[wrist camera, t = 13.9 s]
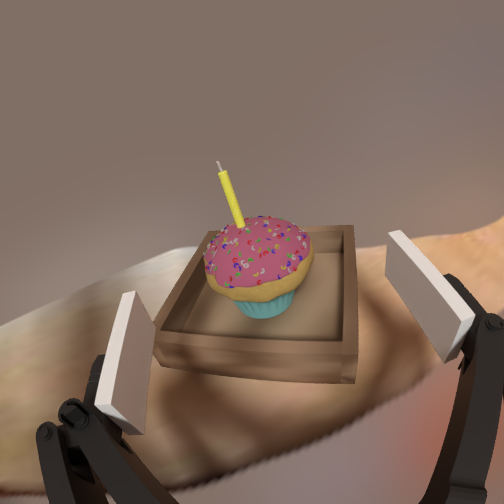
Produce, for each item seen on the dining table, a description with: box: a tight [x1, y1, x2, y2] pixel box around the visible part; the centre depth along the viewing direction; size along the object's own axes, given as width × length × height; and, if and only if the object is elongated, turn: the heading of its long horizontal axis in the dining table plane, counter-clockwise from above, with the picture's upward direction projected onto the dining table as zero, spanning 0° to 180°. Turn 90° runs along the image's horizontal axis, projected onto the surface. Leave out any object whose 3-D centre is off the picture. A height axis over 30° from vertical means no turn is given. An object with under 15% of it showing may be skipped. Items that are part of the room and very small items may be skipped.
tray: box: [152, 225, 358, 384], centre depth 26 cm, size 15×15×4 cm
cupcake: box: [203, 161, 314, 319], centre depth 23 cm, size 9×8×12 cm
